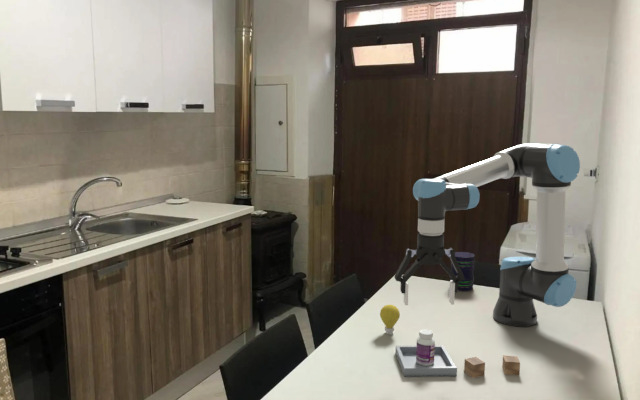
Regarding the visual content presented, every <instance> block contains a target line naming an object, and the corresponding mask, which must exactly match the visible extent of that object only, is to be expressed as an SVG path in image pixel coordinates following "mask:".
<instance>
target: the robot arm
mask: <svg viewBox="0 0 640 400" xmlns="http://www.w3.org/2000/svg"><path fill="white" fill-rule="evenodd" d="M580 164H581V162H580V158H579V155H578V153H577V151H576V150H575V149H574V148H573V147H571V146H569V145H567V144H559V143H543V142H542V143H535V142H527V143H526V142H525V143H522V144H517V145H515V146H512V147H509V148H506V149H504V150H501V151H498V152H496V153H495V154H494V155H493V156H492V157H490V158H487V159H484V160H482V161H481V160H480V161H479V162H475V163H473V164H471V165H467V166H465V167H462V168H459V169H456V170H454V171H451V172H448V173H445V174H442V175H440V176H437V177H434V178H420V179H418V180H417V181H416V182H415V183H414V184H413V187H412V196H413V197H414V199H415V200H416V201H417V213H418V214H417V217H418V218H417V237H416V239H417V241H416V243H417V244H416V248H415V249H410V248H406V249H405V256H404V258H403V260H402V261H401V263H400V265H399V267H398V269H397V271H396V273H395V274H394V277H393V278H394V279H395V281H396V282H399V283H400V292H401V294H403V303H404V305H405V306H408V305H409V282H408V280H409V279H410V278H411V277H412V276H413V275H414V274H415V272H417V270H418V269H419V268H420V267H421V266H422V265H425V266H429V265H433V266H436V265H438V264H439V265H440V266H441V267H442V268H443V270H444V271H445V272H446V273H447V274H448V275H449V277H451V278H452V279H453V280H449V294H448V295H449V299H448V302H449V303H450V305H455V297H456V295H455V293H458V292H459V291H458V283H459V282H460V281H461V280H465V277H464V275H463V273H462V270H461V268H460V266H459V264H458V262H457V260H456V258H455V252H456V251H455V250H454V249H453V248H452V247H449V248H448V249H445V247H444V246H445V245H444V244H445V234H444V232H445V222H446V221H445V219H446V217H445V216H446V212H452V211H461V210H464V211H466V210H468V209H469V210H470V209H473V208H474V209H475V208H476V207H477V205H478V204H479V202H480V195H481V194H480V191H479V189H478V187H481V186H484V185H486V184H488V183H491V182H493V181H496V180H500V179H504V180H507V179H510V178H515V177H522V178H531V186H532V187H533V189H535V190H536V222H535V223H536V224H535V225H536V233H535V236H536V238H535V239H536V241H535V243H536V244H535V246H536V247H535V248H536V249H535V258H534V257H531V256H530V257H529V256H508V257H504V258H503V259H502V260H501V264H500V268H499V288H498V290H499V292H498V298H497V301H496V302H495V305H494V308H493V311H492V317H493V319H494V320H495V321H497V322H499V323H500V324H504V325H508V326H512V327H521V328H522V327H532V326H534V325H536V324H537V322H538V321H537V320H538V313H537V310H536V307H535V304H534V303H535V302H534V300H536V301H538V302H540V303H543V304H545V305H547V306H552V307H555V308H561V307H564V306H565V305H567V304H568V303H569V302H570V301H571V300H572V299H573V297H574V295H575V293H576V290H577V280H576V278H575V276H573V275H572V274H570V273H569V271H570V267H569V264H568V263H567V262H566V261H565V234H566V231H565V230H566V228H565V226H566V225H565V224H566V223H565V222H566V191H567V190H568V189H569V188H570V187H571V186H572V182H573V181H574V180H575V179H577V177H578V174H579V173H580V168H581V165H580ZM445 255H446V256H447V257H448V258H449V259H450V263H451V262H452V264H453V266H454V268H455V270H456V272H457V274H458V276H455V275H454V274H453V272H452V271H451V270H452V269H450V267H449V266H447V264H446V263H445V262H444V260H443V257H444V256H445ZM414 256H416V257H417V258H416V259H415V261H414V262H413V263H412V264H411V266H410V267H408V265H409V264H410V261H411V259H412V258H413V257H414ZM407 267H408V269H407Z"/></svg>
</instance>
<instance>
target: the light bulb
mask: <svg viewBox="0 0 640 400" xmlns="http://www.w3.org/2000/svg"><path fill="white" fill-rule="evenodd" d="M379 315H380V319H381V321H382V323H383V324H384V331H385V334H386V335H393V333H394V331H395V327H394V326H396V324H397V322H398V321H399V319H400V315H401V314H400V310H399V308H398V307H397V306H396V305H393V304H386V305H383V307H382V308H381V309H380V312H379Z"/></svg>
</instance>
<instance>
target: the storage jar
mask: <svg viewBox="0 0 640 400" xmlns="http://www.w3.org/2000/svg"><path fill="white" fill-rule="evenodd" d="M475 256H476V255H475V254H474V253H473V252H468V251H455V258H456V260H457V262H458V264H459V266H460V268H461V270H462V273H463V275H464V277H465V280H461V281H460V282H459V283H458V292H471V291H473V290H474V281H475V276H474V270H475V261H476V260H475ZM450 267H451V269H450V270H451V271H452V272H453V274H454V275H455V276H458V274H457V272H456V270H455V268H454V266H453V264H452V262H451V261H450ZM449 277H450V276H449ZM450 280H453V279H452V278H451V277H450ZM450 280H449V281H450Z"/></svg>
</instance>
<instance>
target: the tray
mask: <svg viewBox="0 0 640 400" xmlns="http://www.w3.org/2000/svg"><path fill="white" fill-rule="evenodd" d="M416 349H417V344H416V345H415V344H414V345H395V356H396V359H397V360H398V361H397V362H398V365H399V367H400V368H401V371H402V372H401V373H402V374H403V376H404V378H405V377H407V378H411V377H413V378H414V377H415V378H416V377H418V378H419V377H457V374H458V368H457V367H458V366H456V364H455V362H454V360H453V359H452V357H451V355H450V353H449V352H448V351H447V349H446V347H445V345H443V344H441V345H439V344H438V345H437V344H435V354H434V363H433V364H432V365H430V366H422V365H420V364H418V363H417V362H416Z"/></svg>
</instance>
